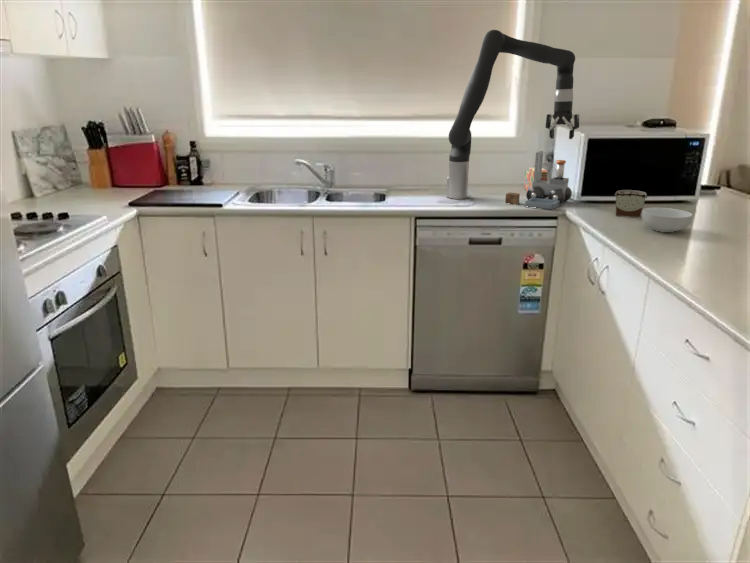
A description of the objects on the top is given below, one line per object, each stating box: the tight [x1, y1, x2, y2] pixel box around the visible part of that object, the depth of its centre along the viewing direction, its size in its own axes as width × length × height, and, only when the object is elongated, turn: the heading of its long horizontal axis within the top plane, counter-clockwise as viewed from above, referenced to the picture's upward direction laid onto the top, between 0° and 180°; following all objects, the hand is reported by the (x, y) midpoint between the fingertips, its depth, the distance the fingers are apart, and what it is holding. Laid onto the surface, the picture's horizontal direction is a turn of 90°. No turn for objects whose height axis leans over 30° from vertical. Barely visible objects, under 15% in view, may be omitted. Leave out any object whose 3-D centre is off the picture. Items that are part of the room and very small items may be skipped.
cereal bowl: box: [641, 206, 693, 233], centre depth 215 cm, size 17×17×7 cm
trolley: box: [525, 150, 573, 206], centre depth 261 cm, size 17×12×22 cm
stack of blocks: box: [523, 166, 549, 192], centre depth 284 cm, size 21×6×12 cm, turn 178°
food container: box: [613, 189, 648, 218], centre depth 238 cm, size 12×6×10 cm, turn 71°
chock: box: [505, 191, 521, 205], centre depth 263 cm, size 5×4×4 cm
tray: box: [524, 198, 561, 211], centre depth 255 cm, size 12×9×3 cm
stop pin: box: [555, 159, 567, 180], centre depth 258 cm, size 4×4×10 cm
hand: (561, 138), depth 255 cm, fingers open, 8 cm apart
